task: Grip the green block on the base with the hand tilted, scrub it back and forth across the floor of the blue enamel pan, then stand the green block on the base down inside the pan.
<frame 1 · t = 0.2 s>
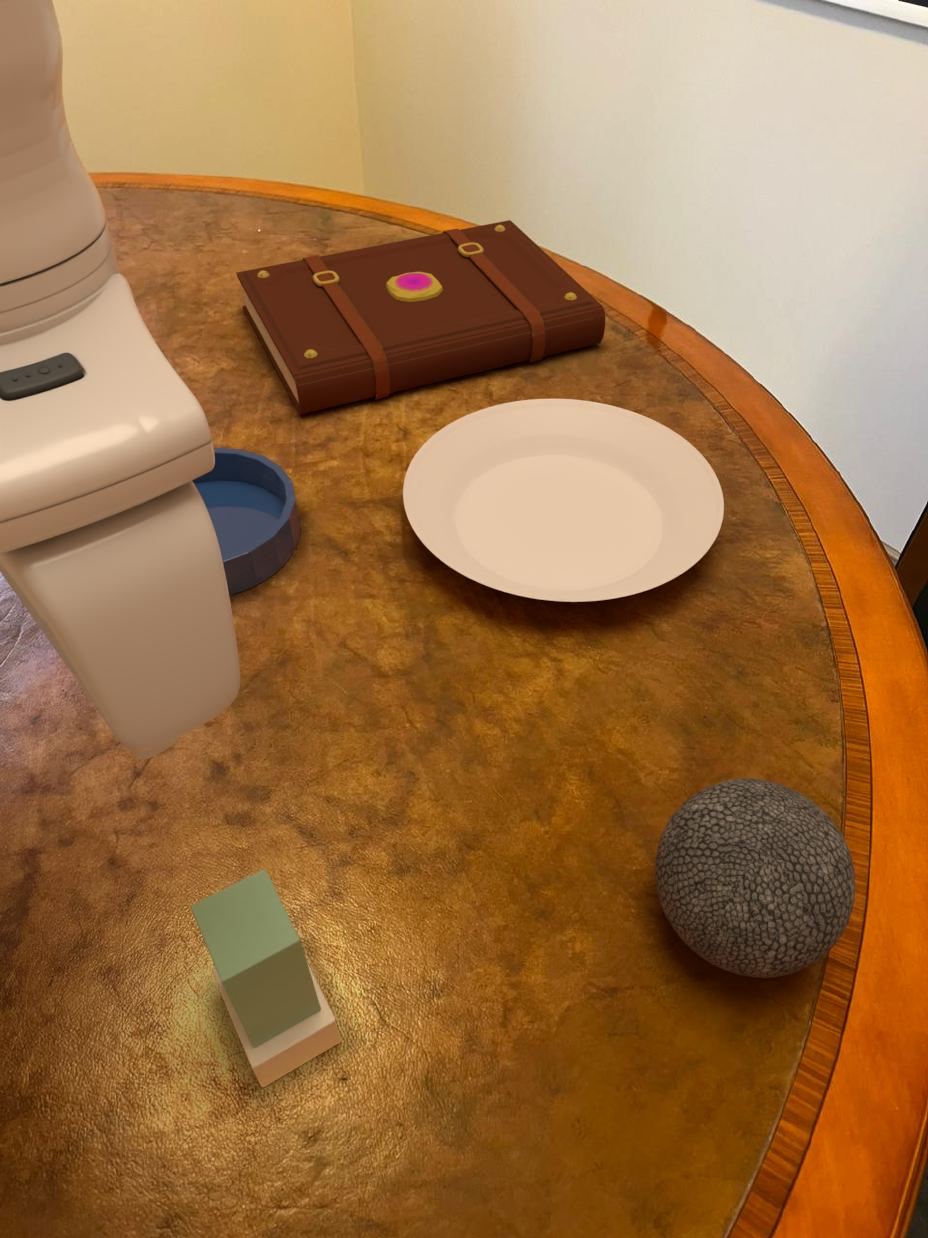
hand: (99, 668, 37), 22 cm above the table, tool pointing down, fingers open, 8 cm apart
white dinner plate: (558, 524, 76), on the table
book: (417, 330, 97), on the table
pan: (210, 537, 75), on the table
decorative ball: (731, 920, 52), on the table
green block on base: (281, 1016, 49), on the table
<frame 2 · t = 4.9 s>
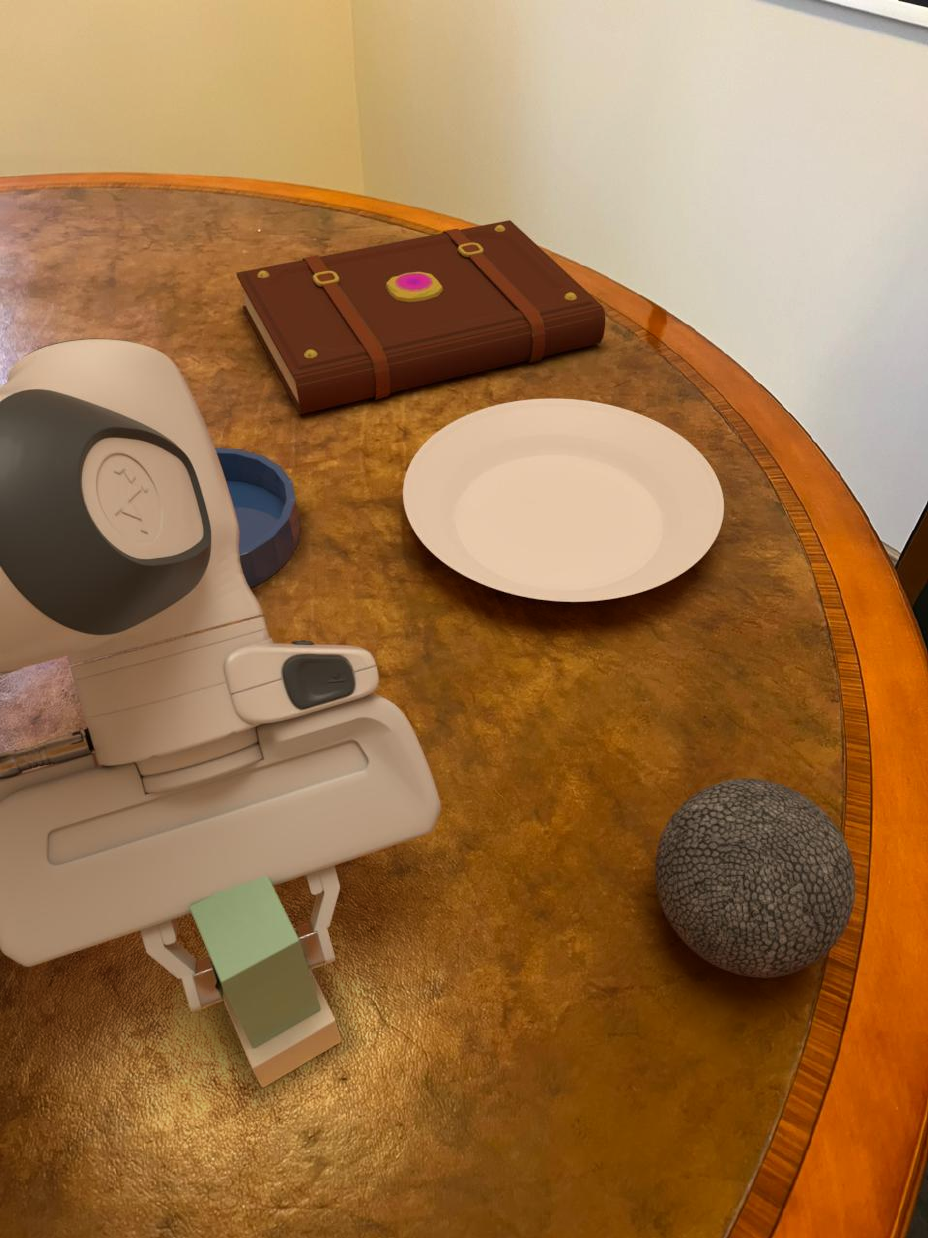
hand: (265, 982, 44), 6 cm above the table, tool tilted 45°, fingers closed on green block on base, 4 cm apart
green block on base: (281, 1016, 49), on the table, touching gripper
everything else where it was.
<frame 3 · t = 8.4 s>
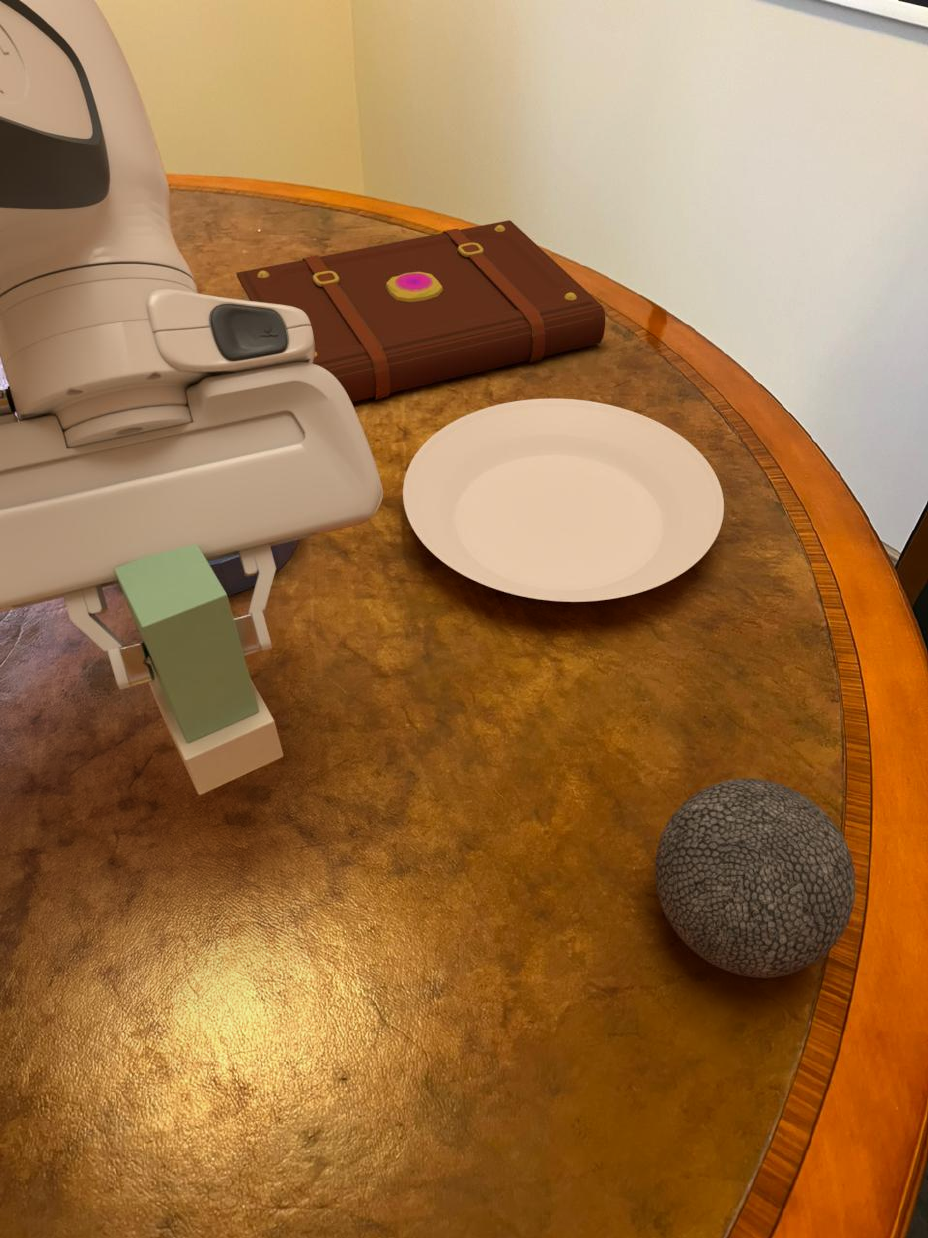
hand: (198, 668, 42), 18 cm above the table, tool tilted 45°, fingers closed on green block on base, 4 cm apart
green block on base: (222, 736, 47), point 12 cm above the table, touching gripper
everything else where it was.
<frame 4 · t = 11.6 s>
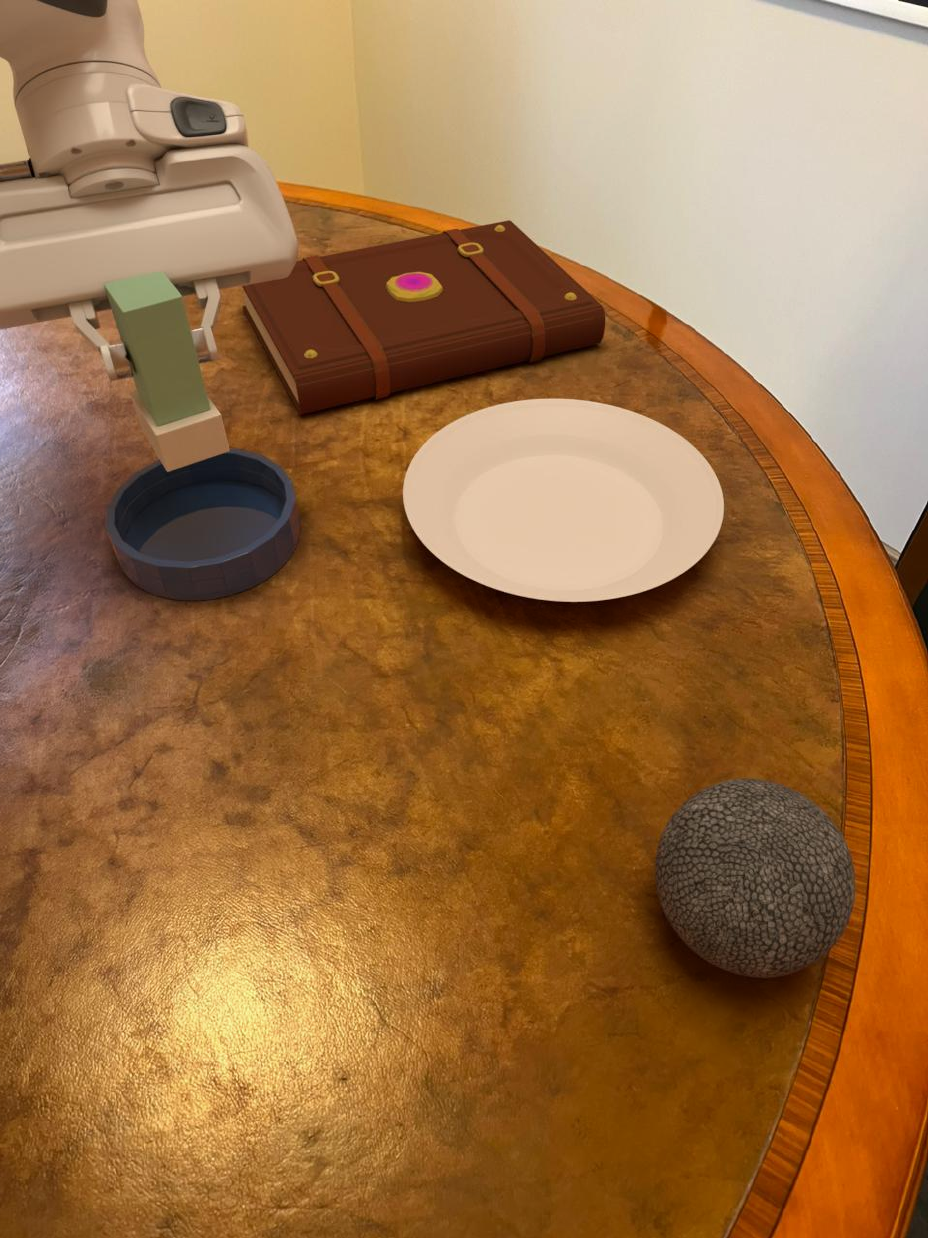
hand: (165, 368, 59), 18 cm above the table, tool tilted 45°, fingers closed on green block on base, 4 cm apart
green block on base: (185, 440, 64), point 12 cm above the table, touching gripper
everything else where it was.
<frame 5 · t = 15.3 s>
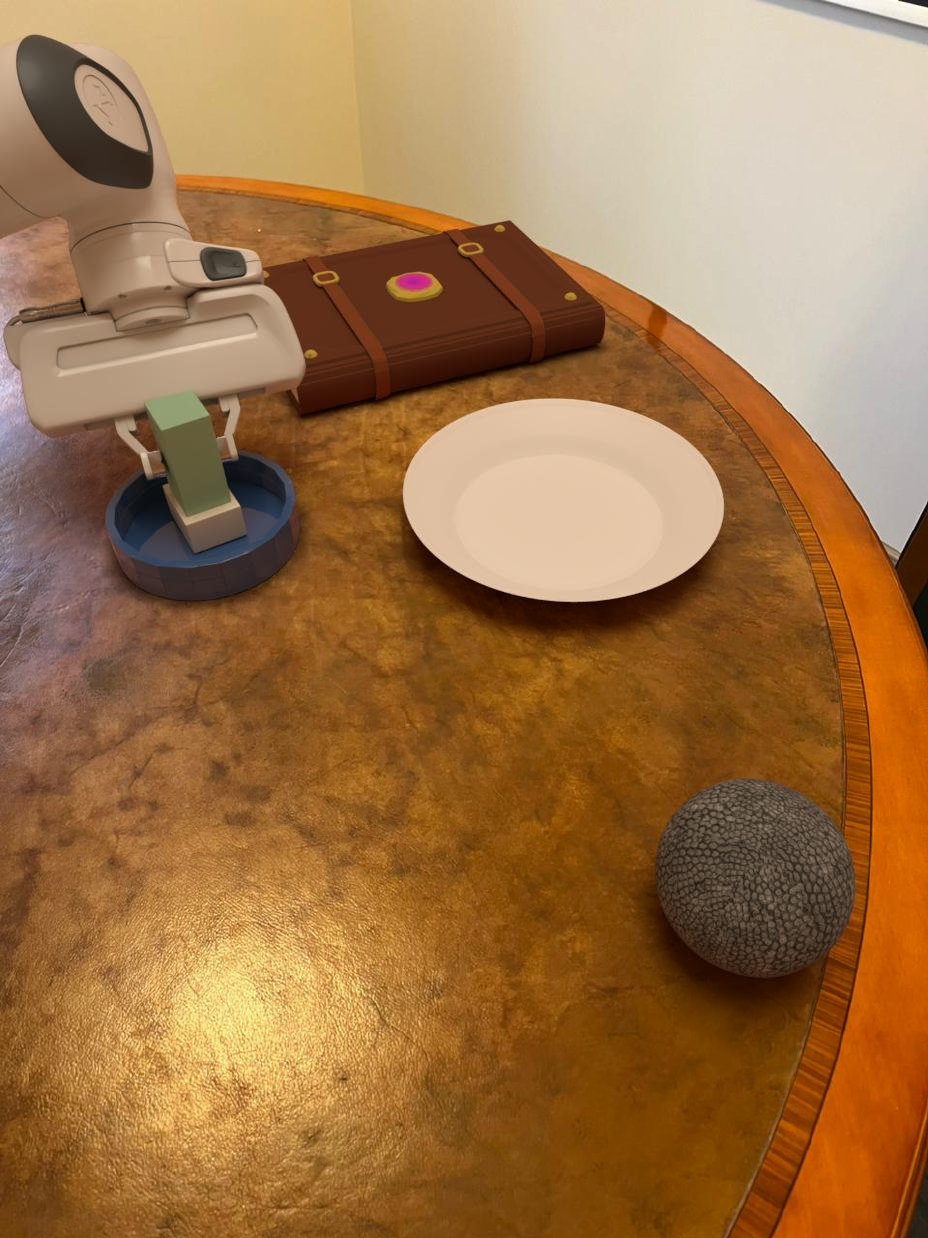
hand: (194, 469, 70), 7 cm above the table, tool tilted 45°, fingers closed on green block on base, 4 cm apart
green block on base: (208, 524, 75), point 1 cm above the table, touching gripper
everything else where it was.
when the fingers open (6 cm above the table, at t = 18.6 s): green block on base stays where it is, resting on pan.
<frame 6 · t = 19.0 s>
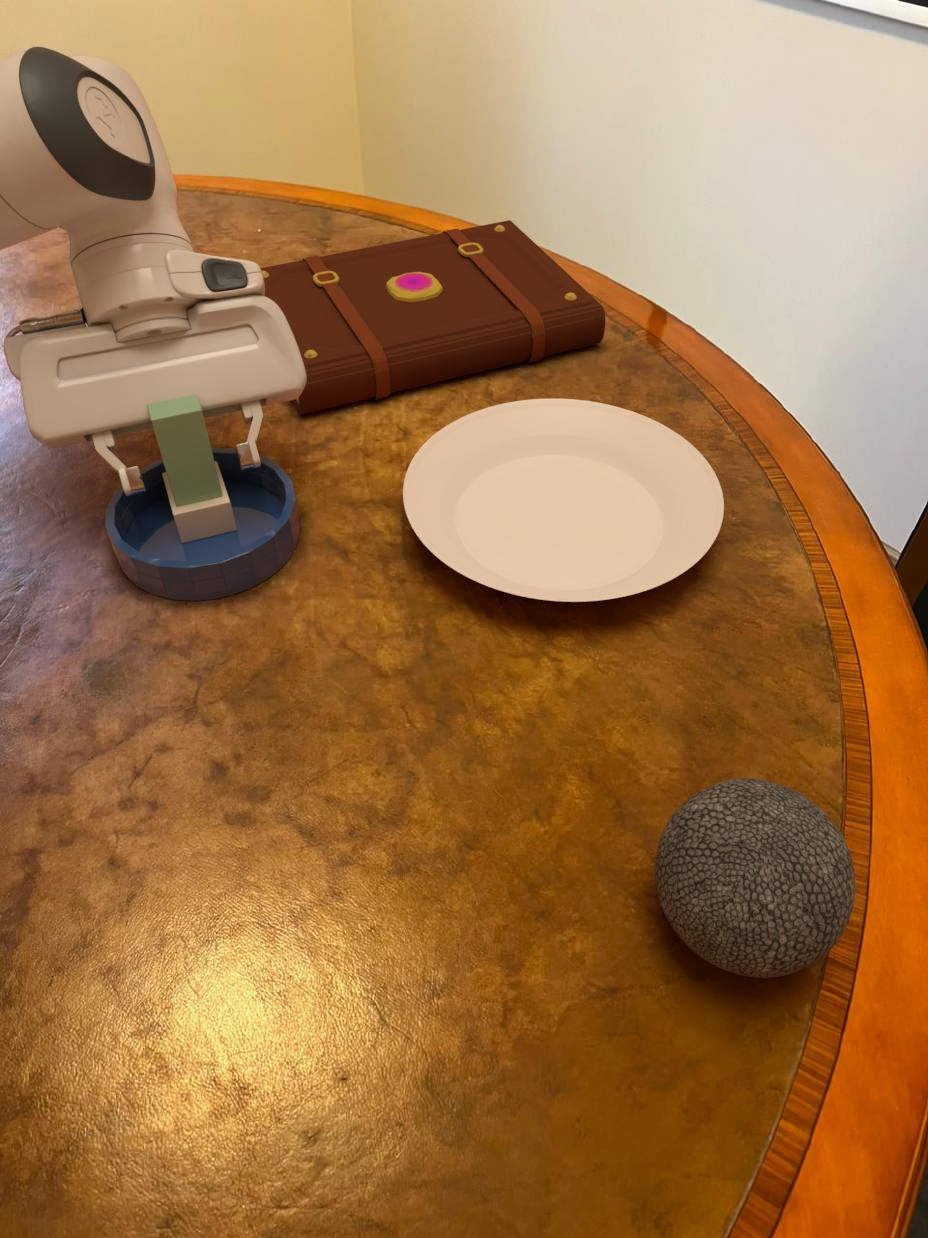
hand: (194, 480, 70), 6 cm above the table, tool tilted 45°, fingers open, 7 cm apart
green block on base: (203, 515, 76), point 1 cm above the table, touching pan
everything else where it was.
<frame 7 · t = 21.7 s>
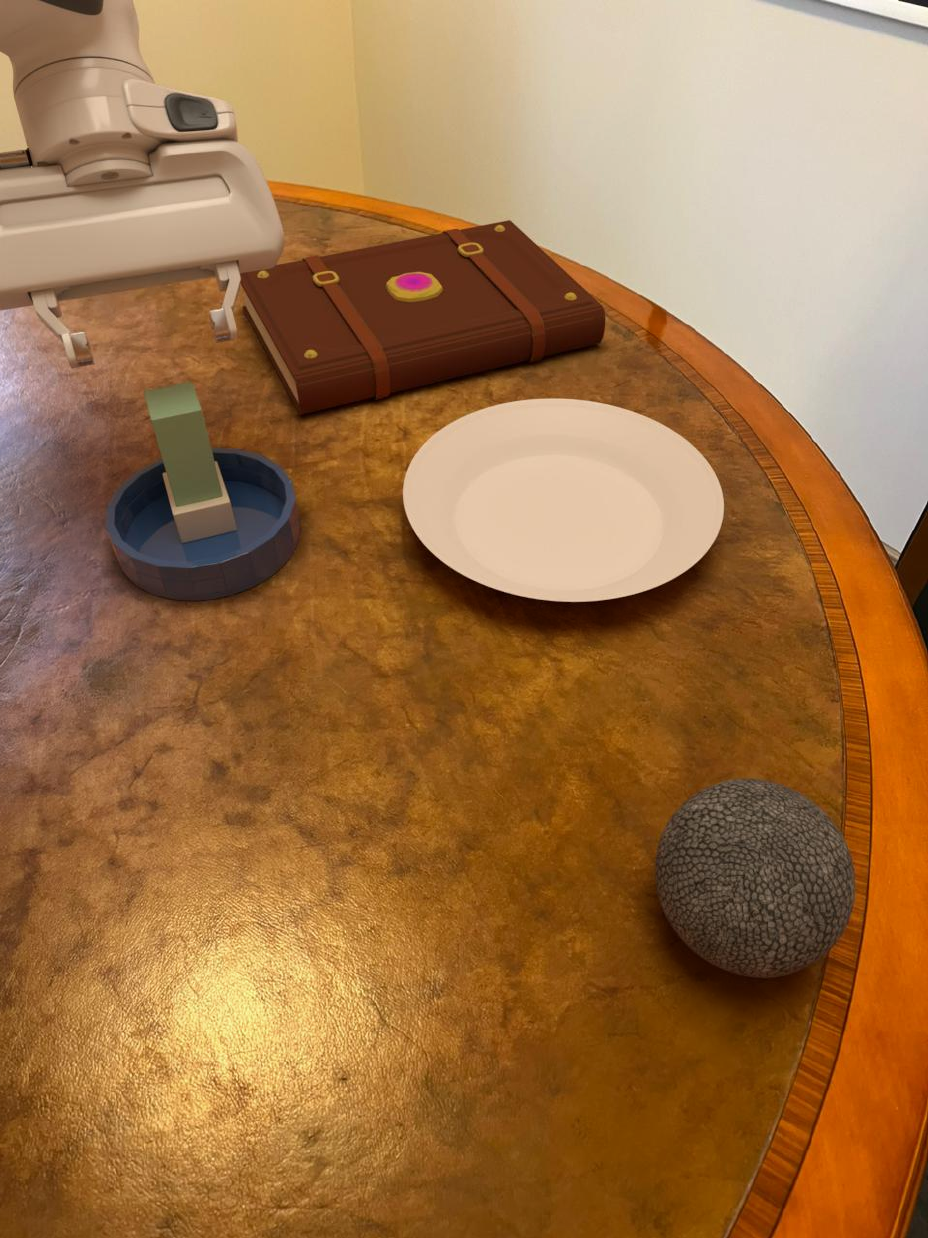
hand: (156, 351, 62), 17 cm above the table, tool tilted 45°, fingers open, 8 cm apart
nothing on the table moved.
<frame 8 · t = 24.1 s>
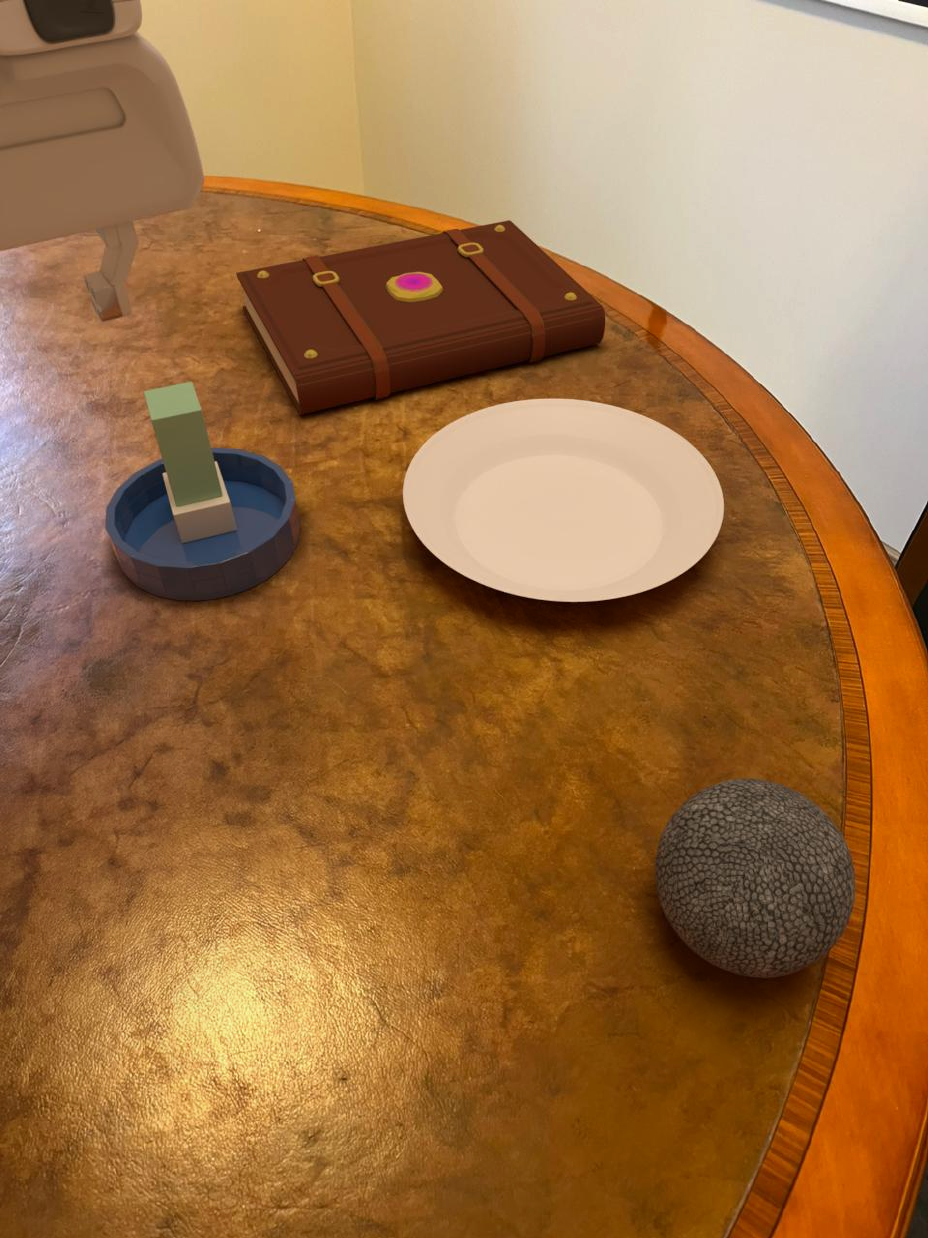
hand: (14, 339, 44), 27 cm above the table, tool pointing down, fingers open, 8 cm apart
nothing on the table moved.
at the end: green block on base inside the target area in the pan (2.1 cm from its centre), point 0.6 cm above the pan's base; green block on base tilted 0°; the gripper is holding nothing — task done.
